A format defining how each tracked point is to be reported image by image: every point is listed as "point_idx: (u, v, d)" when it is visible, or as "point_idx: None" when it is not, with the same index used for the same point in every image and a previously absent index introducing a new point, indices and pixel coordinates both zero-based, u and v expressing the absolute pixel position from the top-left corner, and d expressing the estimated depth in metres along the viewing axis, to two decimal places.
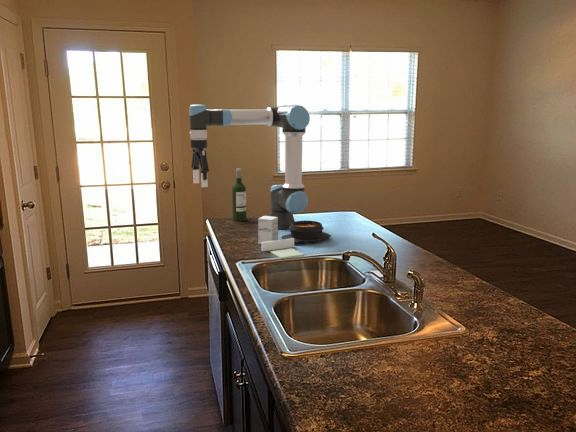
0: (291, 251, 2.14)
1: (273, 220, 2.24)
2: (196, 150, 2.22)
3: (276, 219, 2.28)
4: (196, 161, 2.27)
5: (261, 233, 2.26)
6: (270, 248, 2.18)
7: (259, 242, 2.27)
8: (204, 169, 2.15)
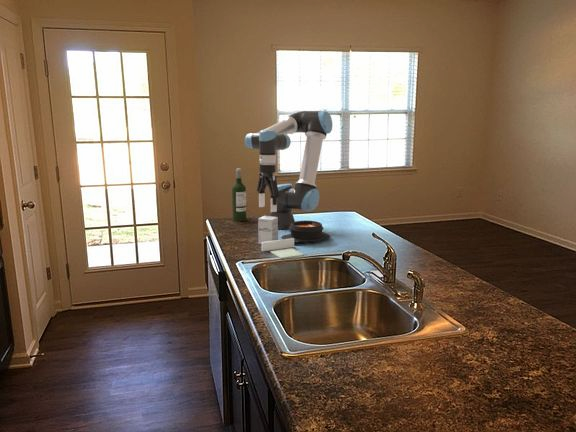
0: (291, 251, 2.14)
1: (273, 220, 2.24)
2: (264, 175, 2.23)
3: (276, 219, 2.28)
4: (263, 185, 2.27)
5: (261, 233, 2.26)
6: (270, 248, 2.18)
7: (259, 242, 2.27)
8: (275, 194, 2.16)
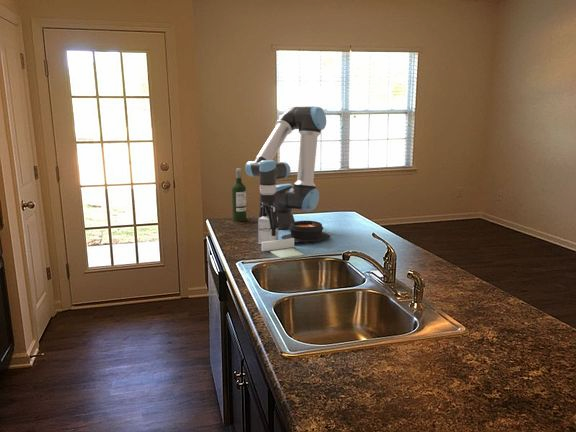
0: (291, 251, 2.14)
1: None
2: (265, 203, 2.26)
3: None
4: (264, 215, 2.30)
5: (261, 233, 2.26)
6: (270, 248, 2.18)
7: (259, 242, 2.27)
8: (274, 226, 2.20)
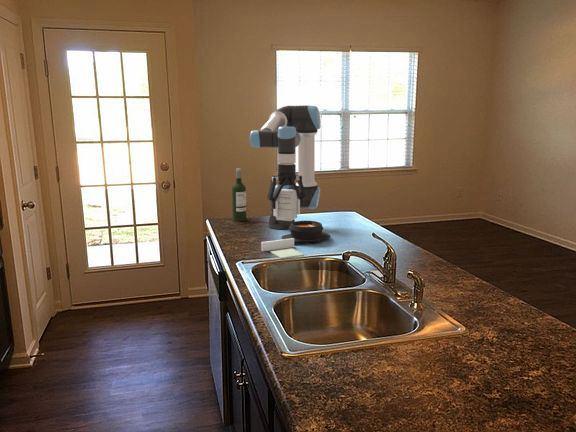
0: (291, 251, 2.14)
1: None
2: None
3: (286, 193, 2.03)
4: (293, 188, 2.08)
5: None
6: (270, 248, 2.18)
7: None
8: (268, 197, 2.04)
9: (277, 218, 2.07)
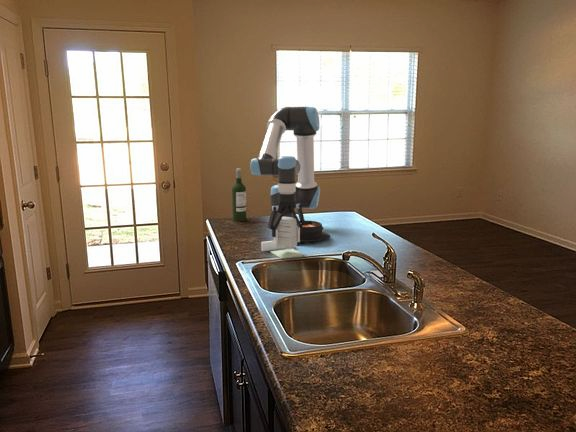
0: (291, 251, 2.14)
1: None
2: None
3: (286, 222, 2.05)
4: (292, 216, 2.11)
5: None
6: (270, 248, 2.18)
7: None
8: (268, 225, 2.06)
9: (277, 246, 2.09)
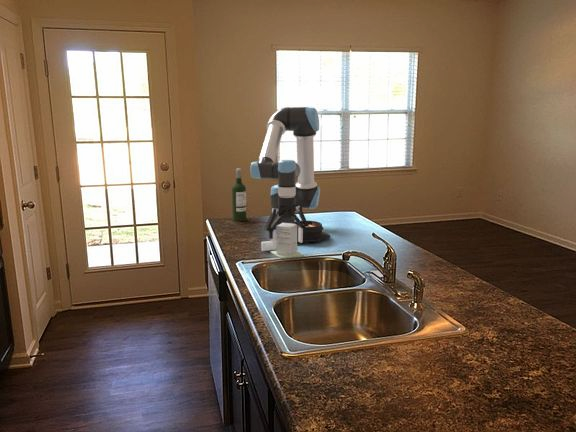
0: None
1: (279, 228, 2.07)
2: None
3: (286, 229, 2.06)
4: (294, 219, 2.11)
5: None
6: (270, 248, 2.18)
7: None
8: (265, 227, 2.06)
9: (277, 252, 2.10)
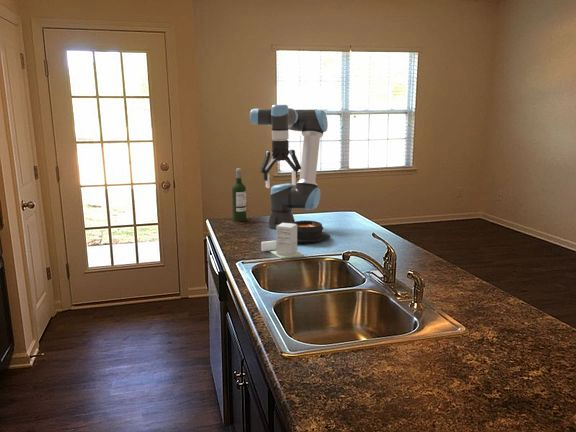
0: None
1: (279, 228, 2.07)
2: None
3: (287, 229, 2.06)
4: (287, 162, 2.21)
5: None
6: (270, 248, 2.18)
7: None
8: (260, 169, 2.16)
9: (277, 252, 2.10)
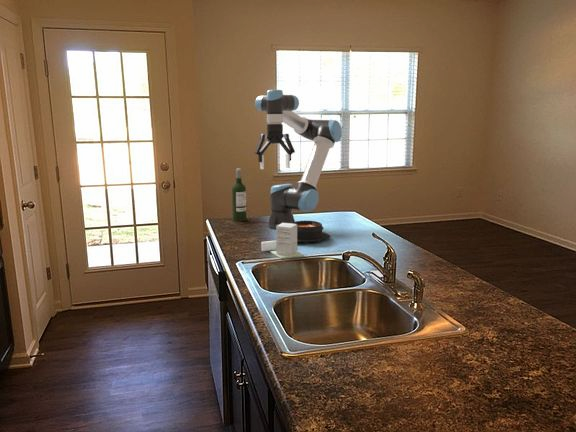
0: None
1: (279, 228, 2.07)
2: None
3: (287, 229, 2.06)
4: (282, 145, 2.32)
5: None
6: (270, 248, 2.18)
7: None
8: (255, 151, 2.26)
9: (277, 252, 2.10)
